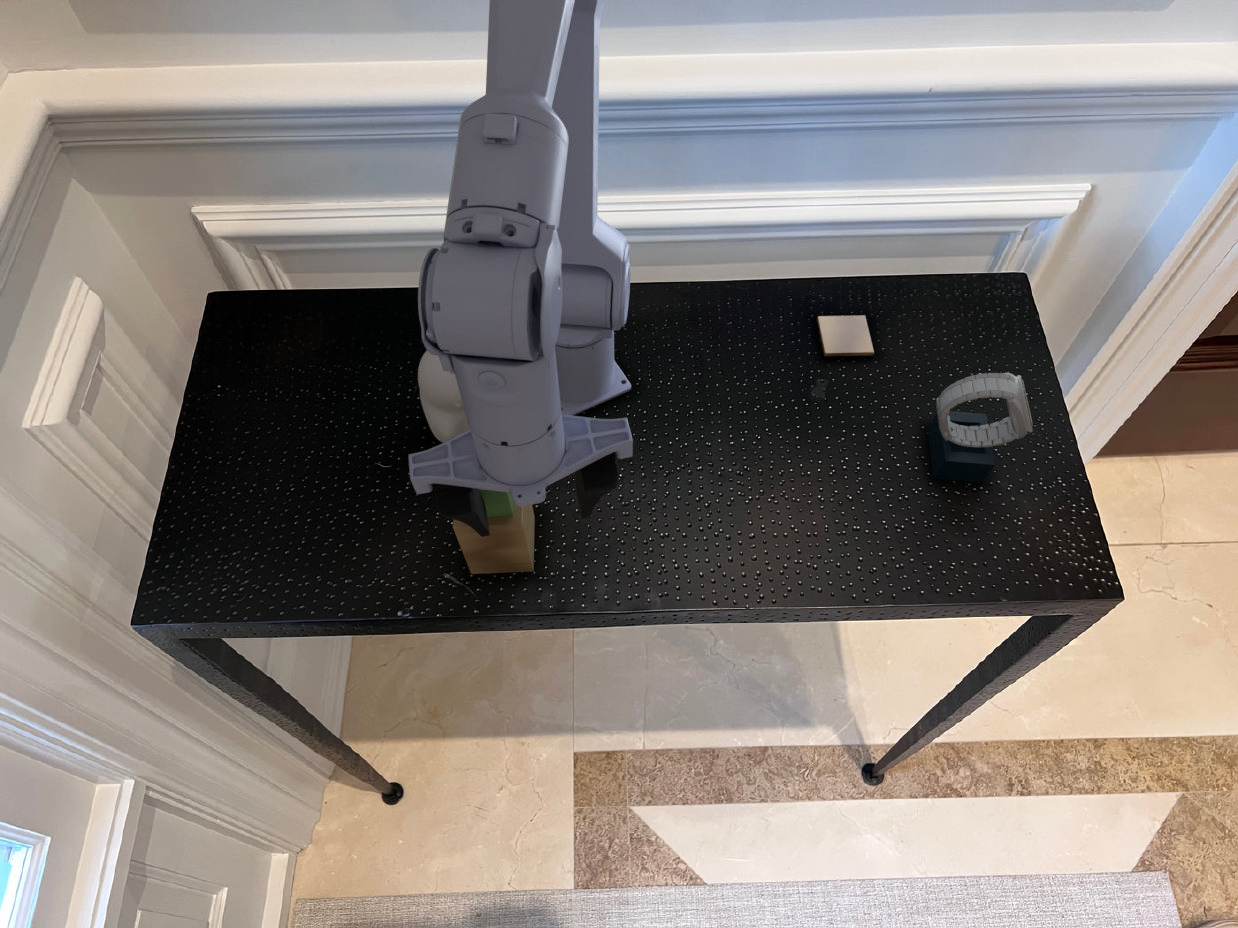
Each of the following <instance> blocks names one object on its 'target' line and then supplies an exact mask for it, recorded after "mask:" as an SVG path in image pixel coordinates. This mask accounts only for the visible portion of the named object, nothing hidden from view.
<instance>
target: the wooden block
mask: <svg viewBox="0 0 1238 928" xmlns="http://www.w3.org/2000/svg"><path fill="white" fill-rule="evenodd" d="M487 518H488V525H489V533H490V536H484V537H481V536H480V535H479V534H478V533H477V532H476V531H475V530H474V529H473V528H471V527H470V526H469V525H467V524H465V523H463V522H461V521H458V520H454V519H452V529H453V533H454V534H455V537H456V539H457V541H458V544H459V547H460V550H461V551H462V554H463V557H464V560H465V562H466V564H467V567H468V570H469V572H470V574H471V575H480V574H505V573H506V574H507V573H528V572H529V573H532V572H534V571H535V527H536V526H535V523H536V522H535V520H536V519H535V518H536V517H535V512H534V507H533V504H532V505H526V506H518V505H516V504H515V503H514V506H513V516H506V517H487Z"/></svg>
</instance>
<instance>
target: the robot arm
mask: <svg viewBox="0 0 1238 928" xmlns="http://www.w3.org/2000/svg"><path fill="white" fill-rule="evenodd" d="M606 1H607V0H489V7H488V9H489V10H488V12H489V13H488V32H487V52H486V75H485V76H486V77H485V95H483V96H482V97H480V98H478V99H476V100H474V101H473V102H471V103H470V104H469V105H468V106H466V107H465V108H464V110H463V111H462V112H461V115H460V116H459V117H460V118H459V123H458V130H457V137H456V138H457V139H456V145H455V152H454V159H453V165H452V166H453V167H452V173H451V181H450V188H449V195H448V203H447V208H446V217H445V223H444V229H443V230H444V231H443V243H442V244H441V245H440V249H439V248H438V247H432V248H430V249H429V250H428V251H427V253H426V254H425V256H424V258H423V262H422V264H421V268H420V272H419V280H418V287H417V288H418V290H417V309H418V320H419V324H420V329H421V340H422V343H423V346H424V348H425V349H426V351H428V352H429V353H430V354H432V355H437V356H438V357H439V359H440V362H441V365H442V368H443V371H447V372H450V373H452V374H455V377H456V380H457V384H458V388H459V391H460V395H461V399H462V402H463V406H464V410H465V413H466V417H467V420H468V423H469V427H470V430H469V431H467V432H465V433H463V434H461V435H459V436H457V437H455V438H453V439H451V440H448V441H446V442H444V443H442V442H441V443H440V444H438V445H436V446H433V447H431V448H429V449H426V450H423V451H418V452H415V453H414V452H413V453H409V454H408V457H407V458H408V469H409V479H410V483H411V484H412V487H413V490H414V492H415V493H416V495H422V494H428V493H431V492H432V491H434V496H435V502H436V508H437V511H438V513H439V515H440V516H441V517H442V519H444V520H453V519H454V520H458V521H461V522H463V523H465V524H467V525H469V526H470V527H471V528H473V529H474V530H475V531H476V532H477V533H478V534H479V535H480V536H481V537H484V536H490V533H489V525H488V518H487V511H486V507H485V503H484V500H483V498H482V495H481V493H480V490H479V489H485V490H493V491H500V492H508V493H511V494H512V497H513V501H514V503H515V504H516V505H518V506H526V505H532V506H533V505H536V504H537V505H538V504H541V503H544V501H545V500H546V499H547V489H546V488H547V487H548V486H550V485H552V484H554V483H556V482H557V481H560V480H562V479H564V478H566V477H568V476H570V475H572V474H574V473H575V491H576V499H577V503H578V507H579V512H580V517H581V519H589V518H590V517H591V516H592V513H593V511H594V509H595V507H596V505H597V503H598V502H599V501H600V499H601V498H602V497H604V495H606V494H607V493H609V492H610V491H613V490H615V489H617V487H618V484H619V477H620V474H619V468H618V464H617V459H619V460H622V459H627V458H628V459H629V458H632V457H633V454H634V453H633V452H634V439H633V436H632V432H631V428H630V424H629V421H628V417H621V418H595V417H587V416H580V415H579V416H578V414H580V413H582V412H584V411H587V410H589V409H591V408H594V407H596V406H598V405H600V404H603V403H605V402H607V401H610V400H612V399H615V398H616V397H619V396H621V395H623V394H625V393H627V392H630V391H631V389H632V384H631V382H630V381H629V380H628V378H627V377H626V375H625V374H624V372H623V370H622V369H621V368H620V366H619V365H618V363H617V362H616V360H615V331H621V329H622V328H623V327H624V326H625V325H626V324H627V318H628V314H629V313H628V311H629V303H630V293H631V274H632V273H631V262H630V244H629V243H628V238H627V237H626V236H625V235H624V234H623V233H622V232H620V231H619V230H618V229H616V228H615V227H613V226H612V225H611V224H609V223H607V222H606V220H603V218H601V217H600V216H599V215H598V204H599V203H598V201H599V200H598V199H599V198H598V197H599V196H598V195H599V194H598V193H599V192H598V191H599V121H600V119H599V116H600V115H599V114H600V112H599V111H600V110H599V109H600V42H601V41H600V39H601V37H600V36H601V35H600V33H601V18H602V14H603V11H604V8H605V5H606Z"/></svg>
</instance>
